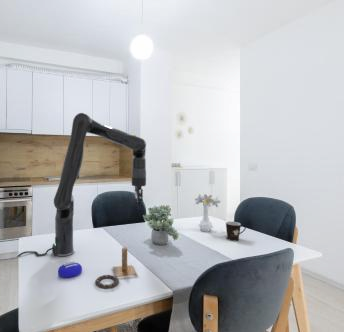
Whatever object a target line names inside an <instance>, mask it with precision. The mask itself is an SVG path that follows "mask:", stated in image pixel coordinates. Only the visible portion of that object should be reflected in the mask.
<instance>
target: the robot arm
mask: <svg viewBox="0 0 344 332" xmlns="http://www.w3.org/2000/svg"><path fill="white" fill-rule="evenodd" d="M87 134H91V135H96V136H99V137H101V138H103V139H106V140H108V141H109V142H113V143H114V144H117V145H120V146H122V147H126V148H128V149H129V150H132V160H131V161H132V162H131V186H132V187H134V198H135V206H136V209H137V210H142V209H143V207H142V206H143V205H142V204H143V200H144V198H143V197H144V195H143V194H144V190H143V188H142V187H145V186H147V159H146V151H147V141H146V140H145V139H144V138H142V137H139V136H136V135H134V134H130V133H128V132H125V131H123V130H120V129H118V128H116V127H112V126H108V125H105V124H102V123H99V122H98V121H95V120H94V119H92V118H91V116H89V115H88V114H87V113H84V112H79V113H77V114H76V115H75V116H74V117H73V119H72V126H71V133H70V139H69V142H68V144H67V149H66V151H65V156H64V159H63V164H62V168H61V174H60V179H59V184H58V187H57V189H56V192H55V195H54V197H53V206H54V207H55V209H56V211H55V212H56V213H55V216H54V223H55V224H54V229H55V232H54V233H55V235H54V243H52V247H50V248H48V249H47V250H46V251H45V252H44V253H38V252H37V251H33V250H27V251H23V252H20V253H19V254H18V255H17V256H16V258H19V257H21V256H22V255H24V254H35V255H36V256H38V257H40V256H41V257H42V256H46V255H47V254H48V252H49V251H51V254H54V256H55V257H56V256H57V257H68V256H71V255H72V254H74V212H75V211H74V209H75V208H74V207H75V206H74V205H75V204H74V203H75V201H74V195H73V190H74V187H75V184H76V182H77V179H78V177H79V175H80V173H81V168H82V165H83V161H84V150H85V149H84V148H85V140H86V137H87Z"/></svg>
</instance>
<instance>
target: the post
mask: <svg viewBox="0 0 344 332" xmlns="http://www.w3.org/2000/svg"><path fill="white" fill-rule="evenodd" d="M112 269H113V271H114V274H115V277H117V278H119V277H129V276H137V275H138V273H137V272H136V269H134V266H133V265H132V264H128V247H122V248H121V265H118V266H112Z"/></svg>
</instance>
